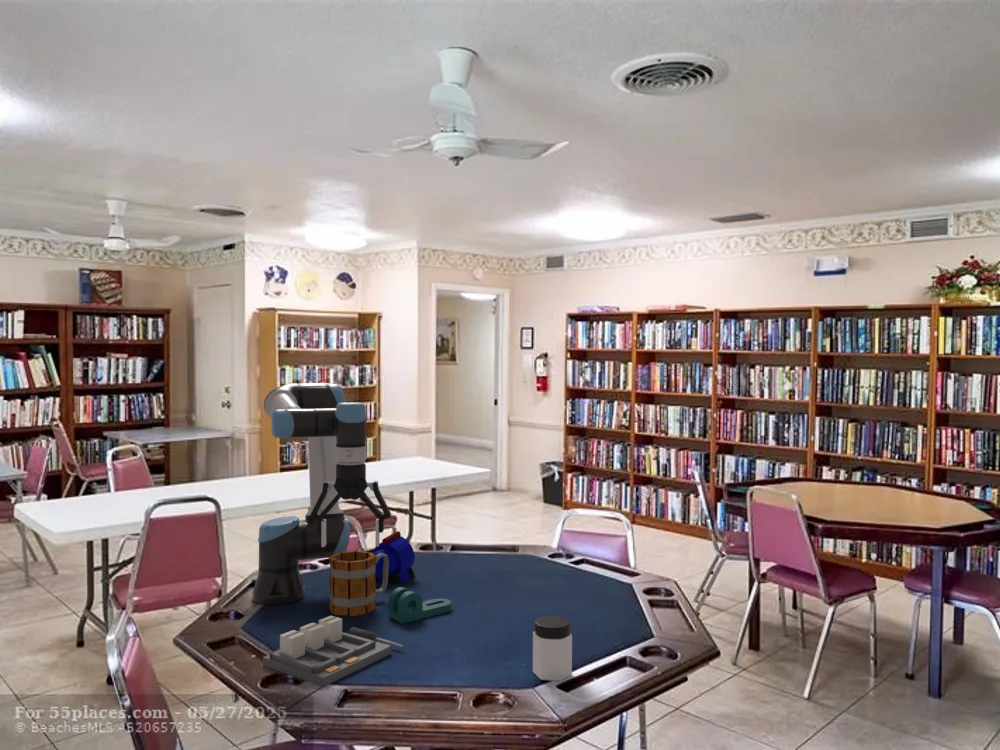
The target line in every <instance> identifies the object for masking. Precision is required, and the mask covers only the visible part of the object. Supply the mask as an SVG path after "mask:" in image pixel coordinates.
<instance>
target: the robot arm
mask: <svg viewBox="0 0 1000 750" xmlns="http://www.w3.org/2000/svg"><path fill="white" fill-rule="evenodd" d="M263 410H264V412H265V414H266V415H267V417H268V418H269V419H271V420H270V421H271V434H272V436H273V437H274V438H276V439H286V440H287V439H295V438H296V439H298V438H308V439H307V440H308V469H309V470H308V471H309V472H308V473H309V475H308V477H309V505H310V506H309V509H308V511H307V512H306V513H305V518H304V519H305V520H300V518H299V517H298V516H294V515H292V516H288V515H287V516H280V517H275V518H272V519H268V520H266V521H264V522H263V523H261V524H260V526H259V529H258V538H257V542H258V573H257V577H256V581H255V584H254V587H253V589H252V594H251V595H252V597H251V598H252V601H254V602H255V603H256V604H257V603H258V604H262V605H284V604H289V603H292V602H296V601H297V602H298V601H299V600H301V599H303V598H304V597H305V595H306V587H305V585H304V581H303V579H302V574H301V573H300V561H308V560H309V561H310V560H319V559H329V556H332V555H334V554H336V553H338V552H346V551H348V548H349V543H350V536H351V525H350V524H351V523H350V522H351V521H350V519H349V518H348V517H345V513H344V510H343V509H341V507H340V506H339V500H340V499H341V500H342V499H343V500H344V501H347V500H354V501H355V500H358V499H360V500H361V501H362V502H363V503H364V504H365V505H366V507H367V508H368V509H369V510H370V511H371V512H372V514H374V516H375V517H376V519H375V547H376V546H379V544H380V534H381V533H383V532H384V529H385V519H389V518H391V515H392V512H391V510H390V508H389V507H388V505H387V502H386V501H385V499H384V497H383V494H382V493H381V490H380V487H379V481H378V480H374V481H372V482H371V481H370V482H367V473H366V472H367V465H366V463H365V461H367V444H366V442H367V441H366V440H367V417H368V416H367V412H366V411H367V408H366V404H365V403H363V402H358V401H357V402H354V401H352V402H351V401H349V402H348V401H346V398H345V395H344V392H343V390H342V387H341V386H340V385H339V384H337V383H331V382H330V383H328V382H320V383H319V382H313V383H307V382H306V383H303V382H301V383H296V382H295V383H286V384H283V385H280V386H277V387H275V388H273V389H272V390H271V391H269V392H268V394H266V396H265V398H264V401H263ZM368 488H369V489H370V491H372V492H373V494H374V496H375V498H376V500H377V502H378V504H379V506H380V509H381V510H380V509H379V508H378V507H377V505H376V504H375V503H374V502H373V501H372V500H371V498H370V497H369V495H367V493H366V492H365V491H366V490H367V489H368ZM381 511H382V512H381Z"/></svg>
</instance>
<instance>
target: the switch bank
mask: <svg viewBox="0 0 1000 750" xmlns="http://www.w3.org/2000/svg"><path fill="white" fill-rule="evenodd" d="M390 655H392V645H391V644H388V643H384V642H383V643H382V642H381V641H377V642H376V641H373V640H369V639H366V638H362V637H359V636H355V635H351V634H349V632H343V631H342V639H341V640H338V641H336V642H332V641H328V640H325V639H324V647H322V648H319V649H317V650H313V649H310V648H307V647H305V655H303V656H301V657H298V658H296V659H295V658H292V657H289V656H286V655H283V654H280V648H279V649H277V650H274V651H272V652H270V653H269V654H268V655H267V654H266V655H265V656H262V666H263V667H265V668H268V669H271V670H275V671H277V672H280V673H282V674H286V675H289V676H291V677H294V678H297V679H299V680H303V681H306V682H308V683H311V684H315V685H318V686H319V687H320V686H321V687H323V688H324V687H326V686H328V685H330V684H332V683H335V682H336V681H339V680H340V679H343V678H344V677H346V676H349V675H352V673H355V672H357V671H359V670H361V669H363V668H365V667H367V666H369V665H372V664H374V663H376V662H377V661H379V660H382V659H384V658H386V657H388V656H390Z"/></svg>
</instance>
